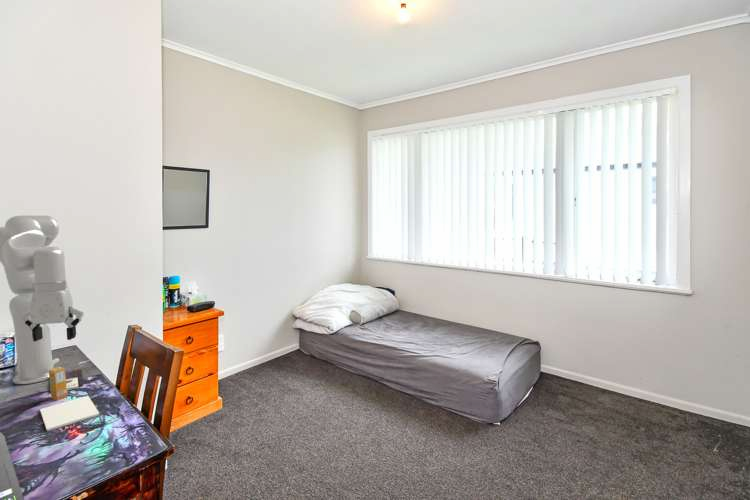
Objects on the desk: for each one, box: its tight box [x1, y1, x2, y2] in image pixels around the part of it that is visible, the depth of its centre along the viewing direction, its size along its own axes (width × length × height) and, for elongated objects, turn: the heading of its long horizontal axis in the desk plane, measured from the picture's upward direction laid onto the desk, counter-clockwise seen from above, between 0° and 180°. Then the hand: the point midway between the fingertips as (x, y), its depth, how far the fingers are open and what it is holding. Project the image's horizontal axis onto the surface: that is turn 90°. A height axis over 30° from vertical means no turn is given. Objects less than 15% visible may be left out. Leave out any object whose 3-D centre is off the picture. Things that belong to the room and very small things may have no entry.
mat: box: [39, 395, 100, 432], centre depth 115 cm, size 16×12×1 cm
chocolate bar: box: [48, 368, 84, 395], centre depth 137 cm, size 9×1×18 cm
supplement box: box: [48, 366, 68, 401], centre depth 124 cm, size 3×3×10 cm
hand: (54, 339), depth 122 cm, fingers open, 9 cm apart
